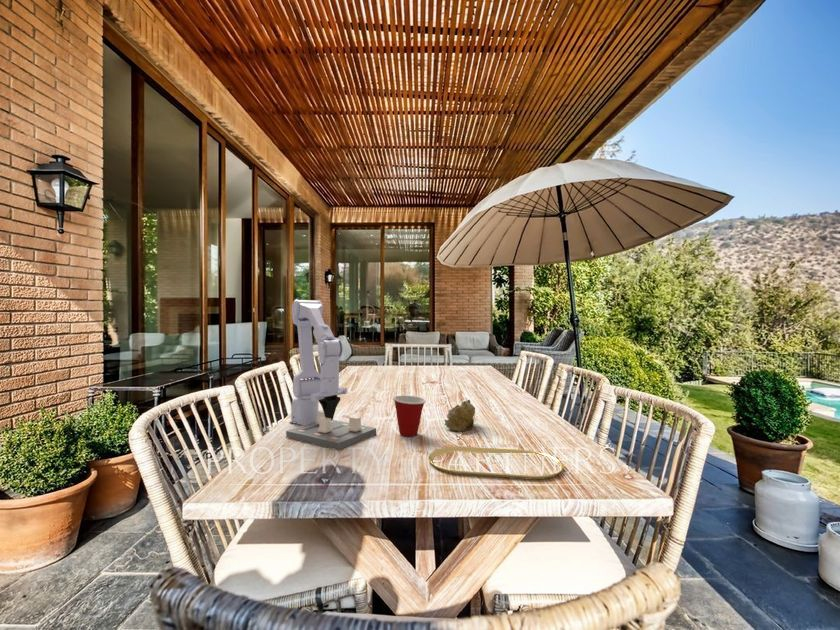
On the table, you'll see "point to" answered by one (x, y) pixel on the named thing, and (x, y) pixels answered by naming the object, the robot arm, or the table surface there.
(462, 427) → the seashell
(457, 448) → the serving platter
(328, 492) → the table surface
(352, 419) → the right switch
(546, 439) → the table surface
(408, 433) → the plastic cup
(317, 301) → the robot arm
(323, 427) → the switch
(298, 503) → the table surface
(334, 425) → the switch panel
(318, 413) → the left switch
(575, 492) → the table surface
